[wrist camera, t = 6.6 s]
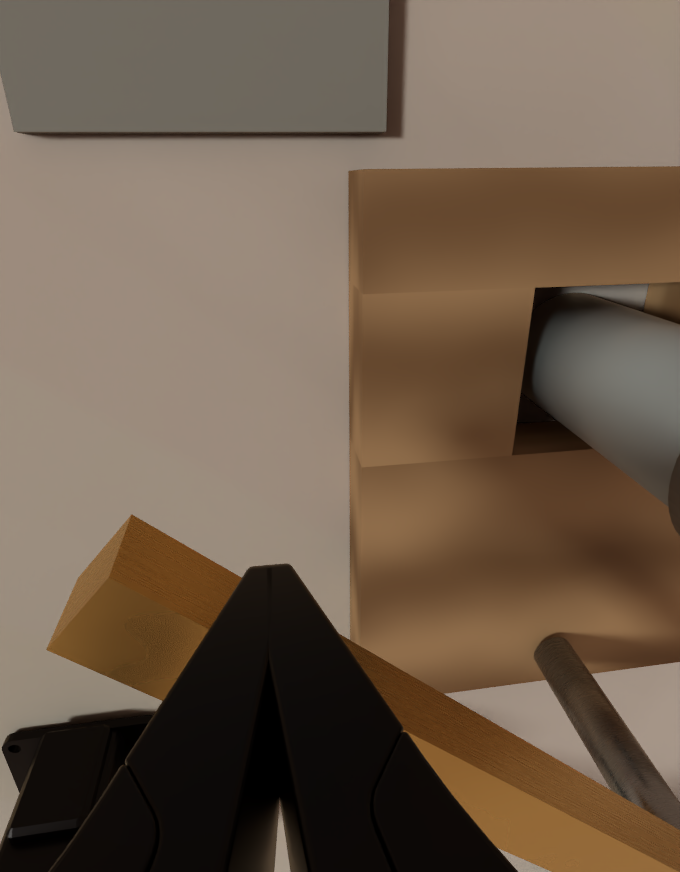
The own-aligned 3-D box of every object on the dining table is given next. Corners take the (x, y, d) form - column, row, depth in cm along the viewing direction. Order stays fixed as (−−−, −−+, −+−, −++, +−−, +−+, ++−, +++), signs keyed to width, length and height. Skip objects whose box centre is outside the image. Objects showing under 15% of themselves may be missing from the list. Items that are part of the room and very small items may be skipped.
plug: (613, 409, 21) (876, 574, 12) (492, 417, 21) (675, 597, 12) (642, 278, 19) (983, 362, 10) (507, 283, 19) (745, 377, 10)
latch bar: (577, 647, 23) (764, 914, 14) (548, 671, 23) (714, 944, 15) (187, 363, 15) (111, 574, 7) (154, 405, 16) (44, 652, 7)
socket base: (670, 618, 27) (708, 657, 25) (350, 657, 25) (360, 704, 23) (815, 166, 18) (893, 164, 16) (348, 171, 16) (363, 169, 14)
